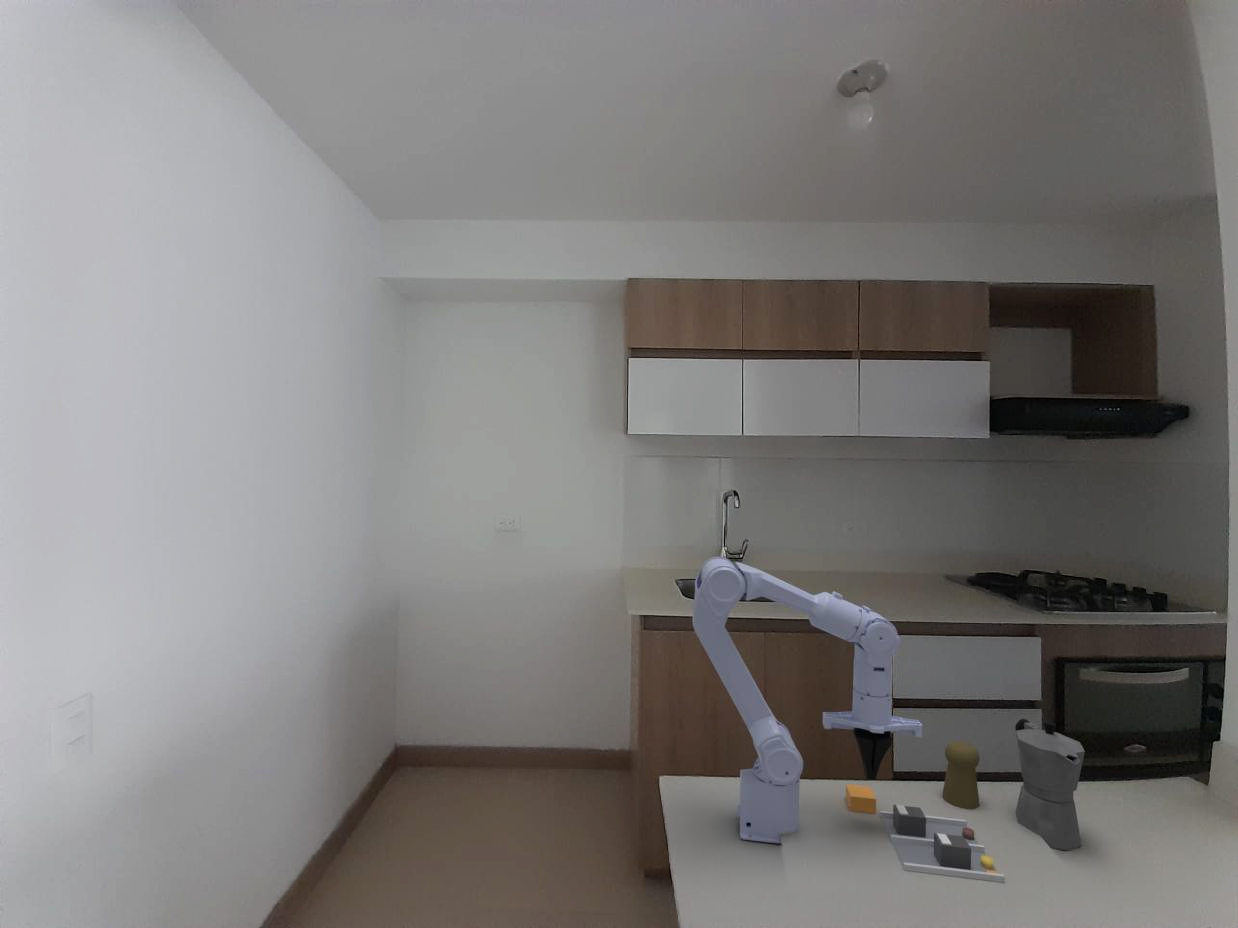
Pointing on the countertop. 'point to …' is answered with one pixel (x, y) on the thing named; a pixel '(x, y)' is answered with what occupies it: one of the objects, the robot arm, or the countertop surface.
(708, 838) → the countertop surface
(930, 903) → the countertop surface
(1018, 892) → the countertop surface
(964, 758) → the cork
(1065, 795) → the coffeepot
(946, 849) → the toggle
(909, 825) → the toggle
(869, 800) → the block
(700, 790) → the countertop surface
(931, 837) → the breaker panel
